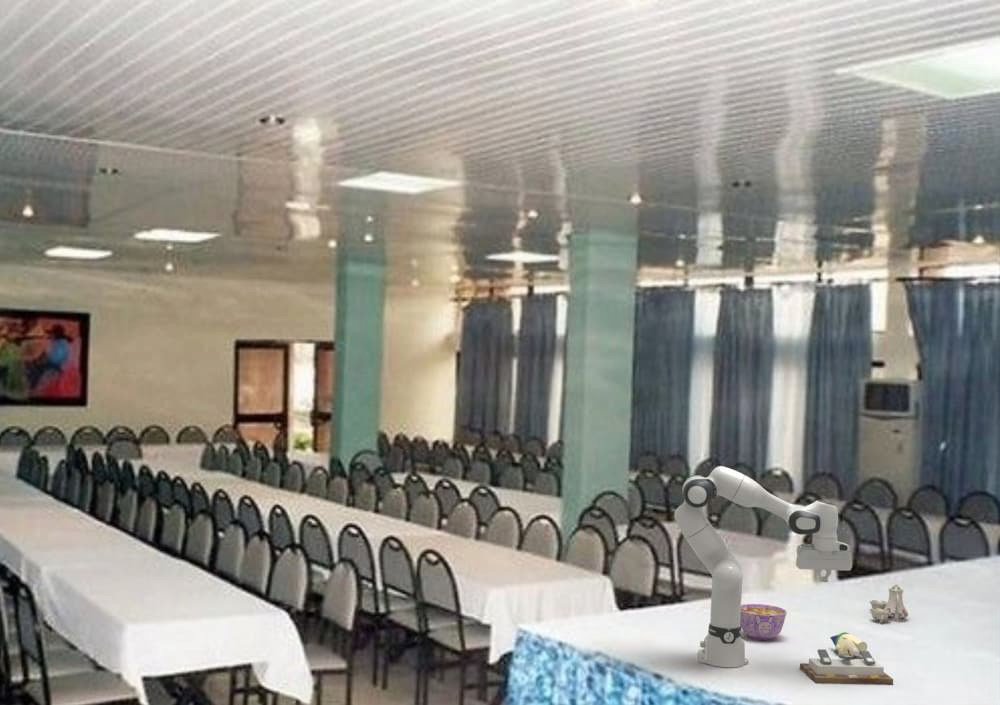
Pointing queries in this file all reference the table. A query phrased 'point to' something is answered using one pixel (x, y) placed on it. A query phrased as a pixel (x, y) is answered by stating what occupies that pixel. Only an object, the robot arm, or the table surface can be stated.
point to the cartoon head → (848, 644)
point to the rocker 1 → (824, 656)
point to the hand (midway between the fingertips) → (823, 581)
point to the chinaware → (890, 607)
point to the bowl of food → (762, 620)
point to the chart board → (845, 677)
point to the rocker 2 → (846, 657)
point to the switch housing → (845, 667)
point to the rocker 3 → (867, 657)
